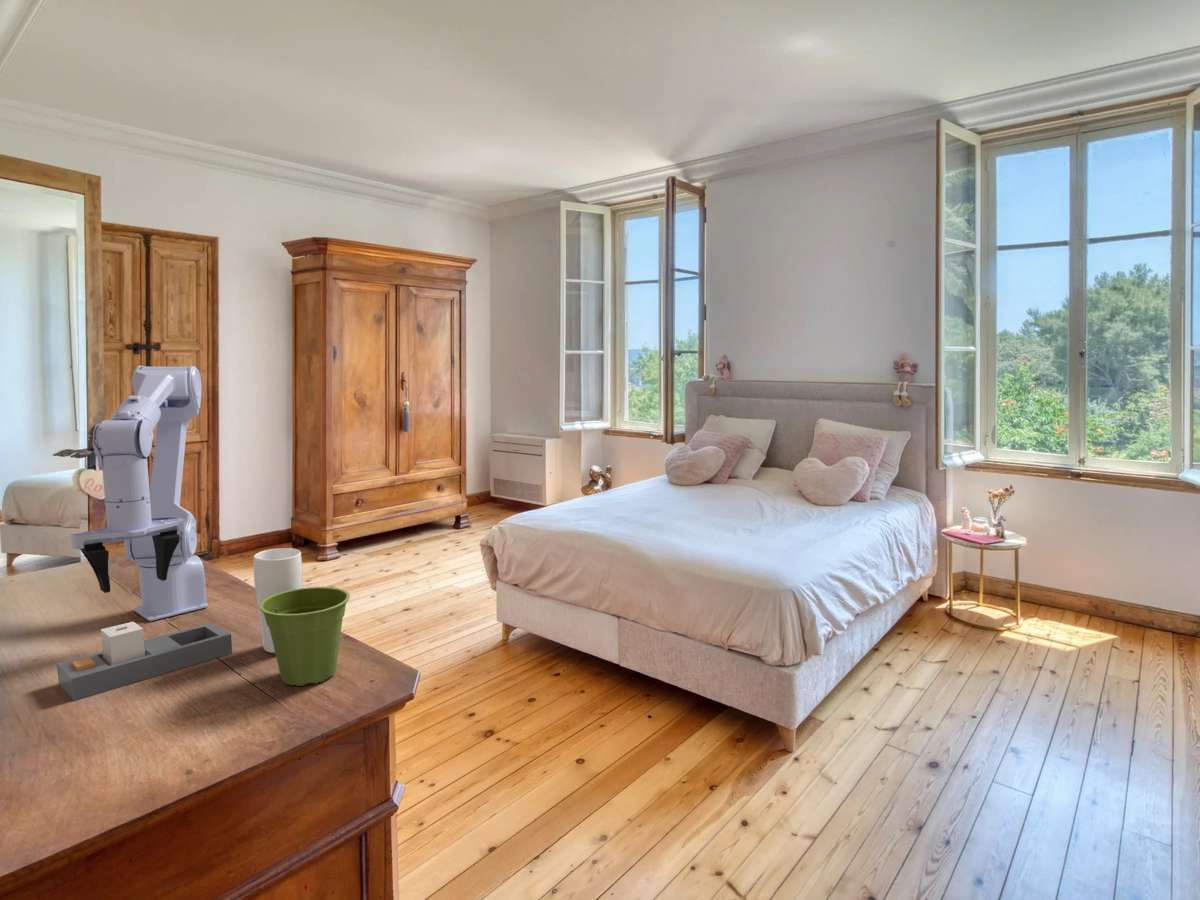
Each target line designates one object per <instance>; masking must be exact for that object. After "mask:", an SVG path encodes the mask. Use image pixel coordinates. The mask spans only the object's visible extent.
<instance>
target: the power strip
mask: <svg viewBox="0 0 1200 900" xmlns="http://www.w3.org/2000/svg"><path fill="white" fill-rule="evenodd" d="M232 641H233V640H232V634H231V633H230V632H228V631H226V630H225V629H223V628H222V627H220V626H219V625H216V624H215V623H213V622H208V623H204V624H201V625H197V626H194V627H190V628H186V629H182V630H178V631H175V632H171V633H166V634H164V635H158V636H154V637H151V638H148V639H147V638H146V639H144V647H145V656H143V657H140V658H136V659H132V660H129V661H125V662H122V663H118V664H114V665H111V666H108V665H107V664H106V663H105V662H104V661H103V651H98V652H95V653H90V654H87V655H83V656H79V657H76V658H71V659H69V660H64V661H61V662H57V663H56V668H57V679H58V680H57V682H58V685H59V686H60V687H61V689H62V690H64V692H65V693H66V694H67V696H68V697H70V699H72V701H77V700H81V699H85V698H87V697H92V696H94V695H97V694H101V693H103V692H107V691H111V690H113V689H118V688H120V687H123V686H127V685H128V686H129V685H130V684H134V683H137V682H140V681H144V680H147V679H150V678H153V677H157V676H160V675H164V674H167V673H170V672H175V671H177V670H181V669H184V668H186V667H191V666H194V665H196V664H200V663H204V662H208V661H211V660H214V659H218V658H221V657H224V656H227V655H230V654H233V644H232Z"/></svg>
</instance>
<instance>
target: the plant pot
mask: <svg viewBox="0 0 1200 900" xmlns="http://www.w3.org/2000/svg"><path fill="white" fill-rule="evenodd" d="M350 599H351V594H350V592H348V591H347V590H345V589H342V588H339V587H335V586H334V587H333V586H330V587H329V586H311V587H310V586H309V587H302V588H299V589H293V590H288V591H284V592H280V593H277V594H274V595H271V596H269V597H267V598H265V599H264V600H263V601H261V602H260V604H259V609H260V611H262V612H263V613H264V616H265V619H266V623H267V626H268V627H269V630H270V633H271V637H272V642H273V646H274V650H275V653H274V654H275V658H276V662H277V665H278V666H277V667H278V670H279V675H280V677H281V681H282V682H283V683H284V684H287V685H289V686H294V685H296V687H297V686H298V687H299V686H300V687H301V686H305V685H306V684H319V683H318V682H320V683H322V682H321V681H323V680H325V681H326V679H327V680H329V679H328V678H329V677H330V678H332V677H333V676H334V675H335V674H336V671H337V666H338V658H339V650H340V641H341V634H342V633H341V632H342V626H343V625H342V624H343V619H344V617H345V613H346V605H347V603H348V602H349V600H350ZM334 673H335V674H334ZM333 674H334V675H333ZM332 675H333V676H332ZM331 676H332V677H331ZM323 682H324V681H323Z"/></svg>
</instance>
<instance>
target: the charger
mask: <svg viewBox="0 0 1200 900" xmlns="http://www.w3.org/2000/svg"><path fill="white" fill-rule="evenodd" d="M100 634H101V635H100V637H101V648H102V649H101V650H102V651H103V661H104V662H105V663H106V664H107V665H108V666H111V665H114V664H118V663H122V662H125V661H129V660H132V659H136V658H140V657H143V656H145V647H144V640H145V637H144V628H143V627H141V625H139V624H137V623H136V622H135V621H130V622H126V623H125V622H124V623H123V624H121V623H120V624H118V625H113V626H109V627H105V628H101V629H100ZM102 651H101V652H102Z"/></svg>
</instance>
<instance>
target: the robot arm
mask: <svg viewBox="0 0 1200 900" xmlns="http://www.w3.org/2000/svg"><path fill="white" fill-rule="evenodd" d="M131 381H132V391H133V393H134V395H129V396H127V397H126V398H125V399H124V400H122V402H121V403H120V404H119V406H118V407H117V409H116V410H115V412H113V415H112V416H111V418H110V419H109V420H107V419H104V420H102V421H101V422H100V423H97V424H96V425H95V426H94V428H93V433H92V447H93V451H94V454H95V456H96V459H97V467H98V470H99V471H102V482H103V491H104V505H105V516H106V526H105V527H101V528H97V529H92V530H87V531H84V532H79V533H78V532H77V533H72V534H71V533H70V538H71V547H72V548H73V549H74V550H79V551H80V552H81V553H82V555H83V556H84V558H85V559H86V560H87V561H88V563H89V564H90V566H91V569H92V570H93V572H94V574H95V576H96V579H97V581H98V584H99V588H100V591H101V592H103V593H104V594H106V593H111V582H110V575H109V553H110V551H108V550H107V549H106V546H105V545H106V544H111V543H117V542H123V541H124V545H123V547H124V552H125V555H126V557H127V558H128V559H129V560H130V561H131V562H134V566H135V567H138V573H139V575H138V576H139V586H140V601H141V605H139V606H135V607H134V606H133V609H132V610H133V611H134V612H136V614H138V615H139V616H141V617H142V618H144V619H145V620H147V621H149V622H152V621H156V620H160V619H164V618H169V617H172V616H177V615H180V614H181V615H182V614H184V613H185V614H186V613H189V612H194V611H197V610H200V609H205V608H208V607H209V603H207V593H206V592H207V589H206V576H205V575H206V573H205V568H204V564H203V561H202V559H201V558H200V557H199V556H198V555H195V554H196V553H195V552H196V551H197V544H198V538H197V537H198V534H197V520H196V519H195V516H194V514H192V512H191V511H189V510H187V509H186V508H184V507H182V506H181V505H180V504H181V495H182V484H183V483H182V482H183V475H184V474H183V473H184V464H185V463H184V462H185V452H186V439H187V432H188V427H189V422H190V420H191V419H193V418H196V416H199V413H200V409H201V402H202V401H201V400H202V391H203V390H202V388H203V387H202V378H201V373H200V371H199V369H198V368H197V367H196V366H194V365H190V366H145V365H137V367H135V369H134V370H133V374H132V380H131ZM155 428H156V431H155V435H154V430H155ZM154 436H155V440H154ZM153 441H154V449H153V448H152V447H153ZM152 449H153V456H152V457H153V458H152V467H151V477H149V467H148V457H149V456H150V455H151V453H152ZM149 479H150V480H149Z"/></svg>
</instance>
